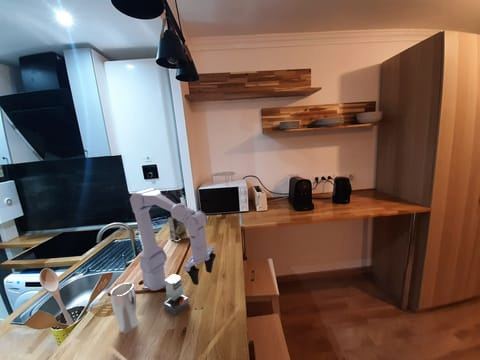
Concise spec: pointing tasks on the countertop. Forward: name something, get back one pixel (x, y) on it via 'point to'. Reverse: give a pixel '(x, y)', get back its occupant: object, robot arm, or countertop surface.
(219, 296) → the countertop surface
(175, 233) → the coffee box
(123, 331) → the white tall cup
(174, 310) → the jack base
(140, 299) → the countertop surface
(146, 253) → the robot arm
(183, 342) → the countertop surface
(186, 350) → the countertop surface
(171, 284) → the grooved grey block
